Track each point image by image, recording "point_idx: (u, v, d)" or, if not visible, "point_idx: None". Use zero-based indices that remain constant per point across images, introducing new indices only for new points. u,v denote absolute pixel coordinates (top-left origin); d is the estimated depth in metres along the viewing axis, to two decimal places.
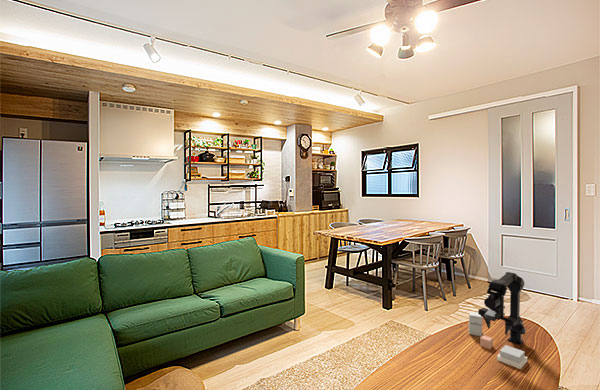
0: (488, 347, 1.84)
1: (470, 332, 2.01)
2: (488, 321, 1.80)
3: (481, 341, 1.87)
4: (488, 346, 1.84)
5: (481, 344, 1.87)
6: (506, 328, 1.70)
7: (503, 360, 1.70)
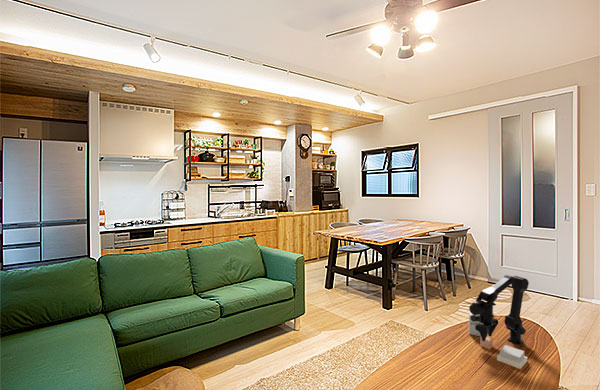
0: (488, 347, 1.84)
1: (470, 332, 2.01)
2: (489, 329, 1.90)
3: (481, 341, 1.87)
4: (488, 346, 1.84)
5: (481, 344, 1.87)
6: None
7: (503, 360, 1.70)
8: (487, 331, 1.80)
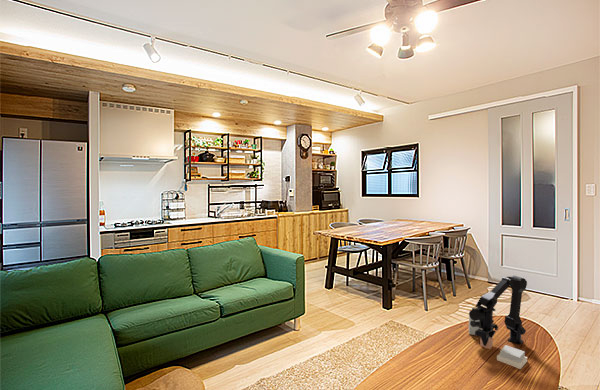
0: (488, 347, 1.84)
1: (470, 332, 2.01)
2: None
3: (481, 341, 1.87)
4: (488, 346, 1.84)
5: (481, 344, 1.87)
6: None
7: (503, 360, 1.70)
8: (487, 337, 1.80)
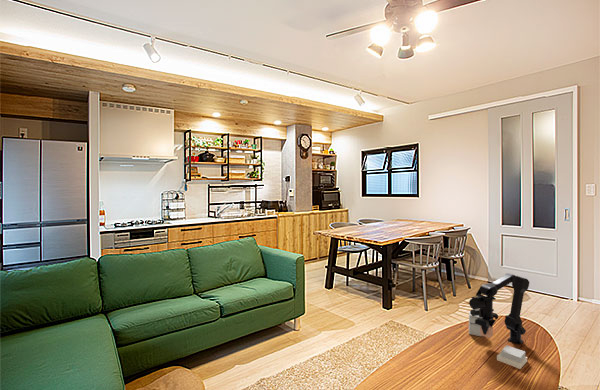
0: (488, 336, 1.84)
1: (470, 332, 2.01)
2: None
3: (481, 330, 1.87)
4: (488, 335, 1.84)
5: (481, 333, 1.87)
6: None
7: (503, 360, 1.70)
8: (487, 325, 1.79)
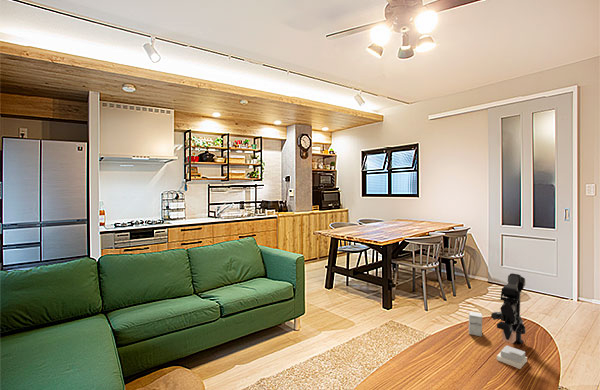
0: (511, 341, 1.70)
1: (470, 332, 2.01)
2: None
3: (503, 335, 1.73)
4: (511, 340, 1.70)
5: (503, 338, 1.73)
6: None
7: (503, 360, 1.70)
8: (510, 330, 1.66)
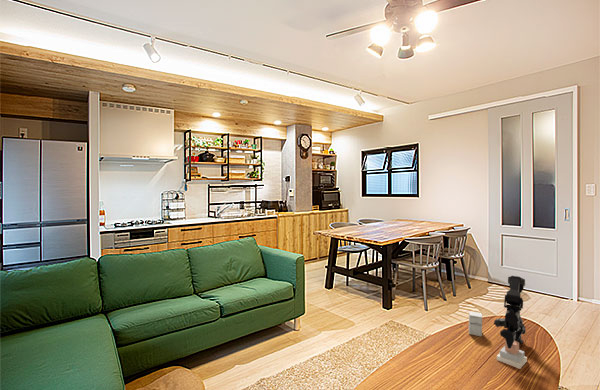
0: (514, 352, 1.69)
1: (470, 332, 2.01)
2: None
3: (506, 345, 1.72)
4: (514, 351, 1.69)
5: (506, 348, 1.72)
6: None
7: (503, 360, 1.70)
8: (514, 337, 1.64)
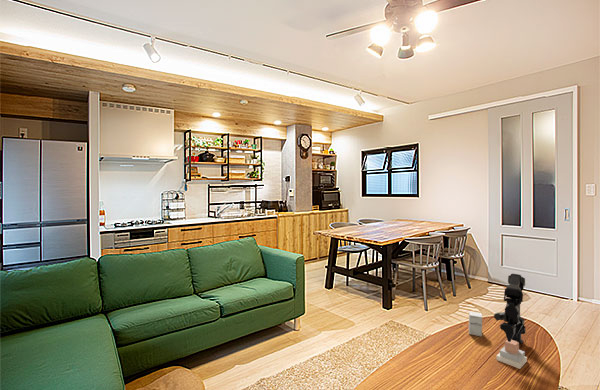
0: (514, 352, 1.69)
1: (470, 332, 2.01)
2: None
3: (506, 345, 1.72)
4: (514, 351, 1.69)
5: (506, 348, 1.72)
6: None
7: (503, 360, 1.70)
8: (514, 331, 1.64)
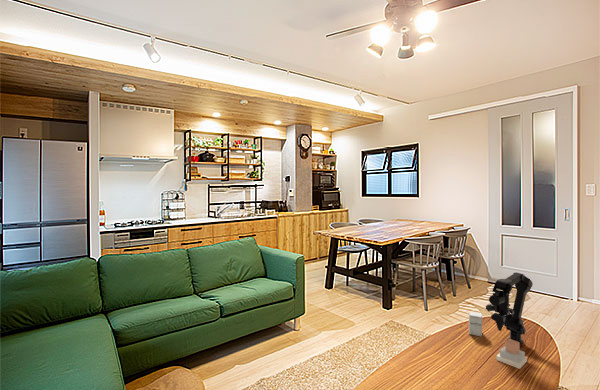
0: (514, 352, 1.69)
1: (470, 332, 2.01)
2: (505, 319, 1.87)
3: (506, 345, 1.72)
4: (514, 351, 1.69)
5: (506, 348, 1.72)
6: None
7: (502, 360, 1.70)
8: (504, 320, 1.76)
